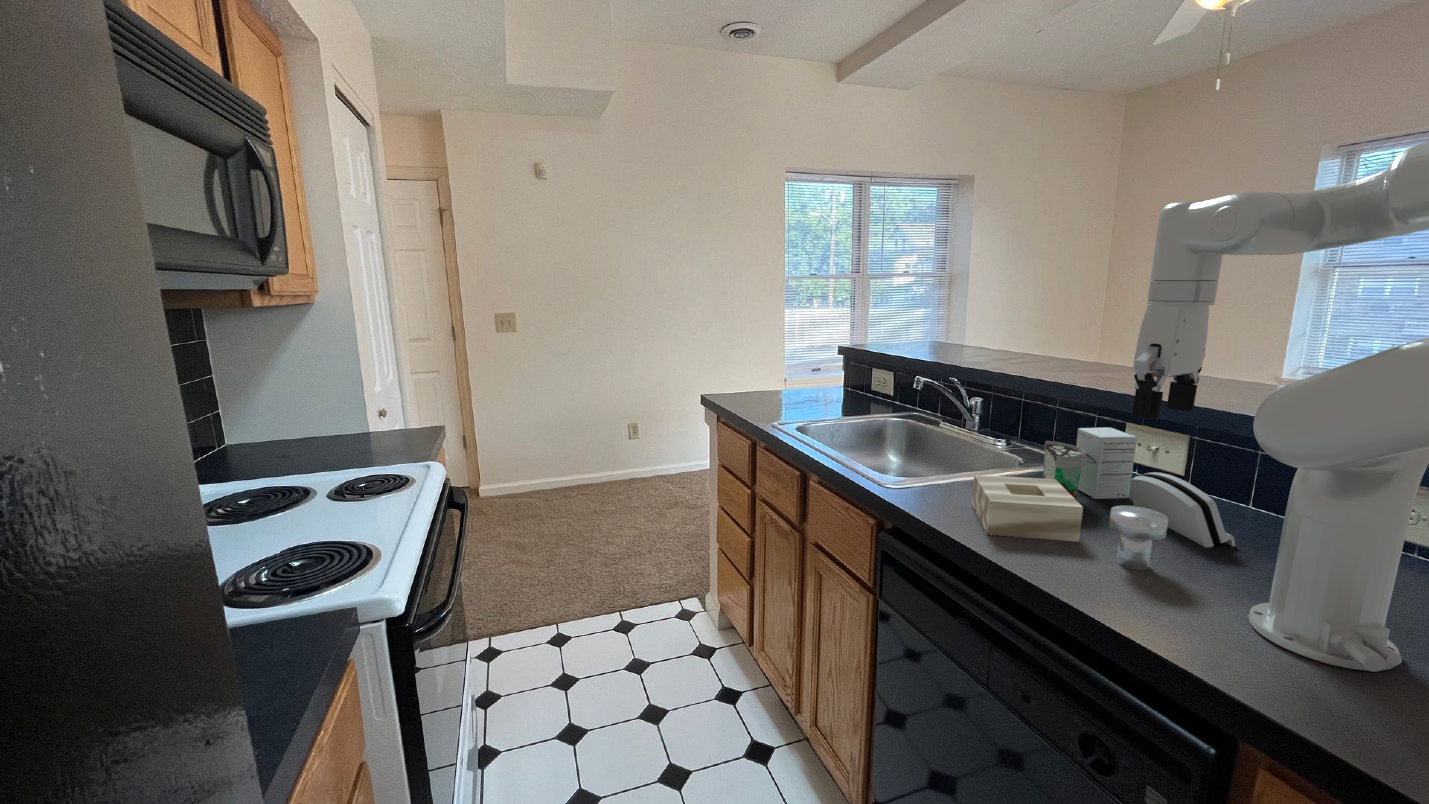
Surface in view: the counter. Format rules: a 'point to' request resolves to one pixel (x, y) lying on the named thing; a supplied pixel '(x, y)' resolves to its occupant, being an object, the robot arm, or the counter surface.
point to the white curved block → (1181, 507)
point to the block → (1026, 508)
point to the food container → (1064, 464)
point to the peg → (1136, 534)
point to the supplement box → (1106, 462)
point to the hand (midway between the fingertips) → (1162, 413)
